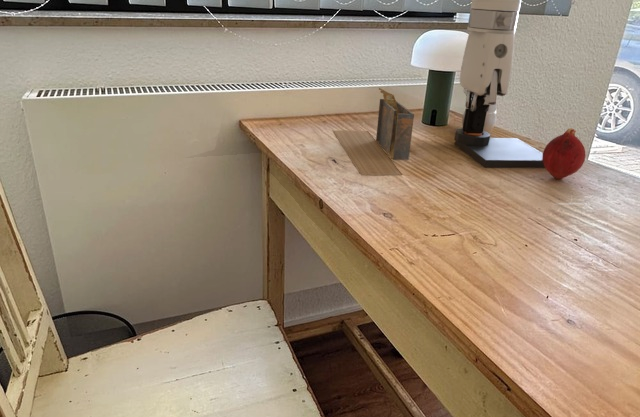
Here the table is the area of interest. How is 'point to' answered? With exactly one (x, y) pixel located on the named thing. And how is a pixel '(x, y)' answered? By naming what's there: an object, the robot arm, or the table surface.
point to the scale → (498, 151)
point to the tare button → (474, 134)
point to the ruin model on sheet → (381, 140)
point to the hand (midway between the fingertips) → (472, 132)
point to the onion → (564, 155)
